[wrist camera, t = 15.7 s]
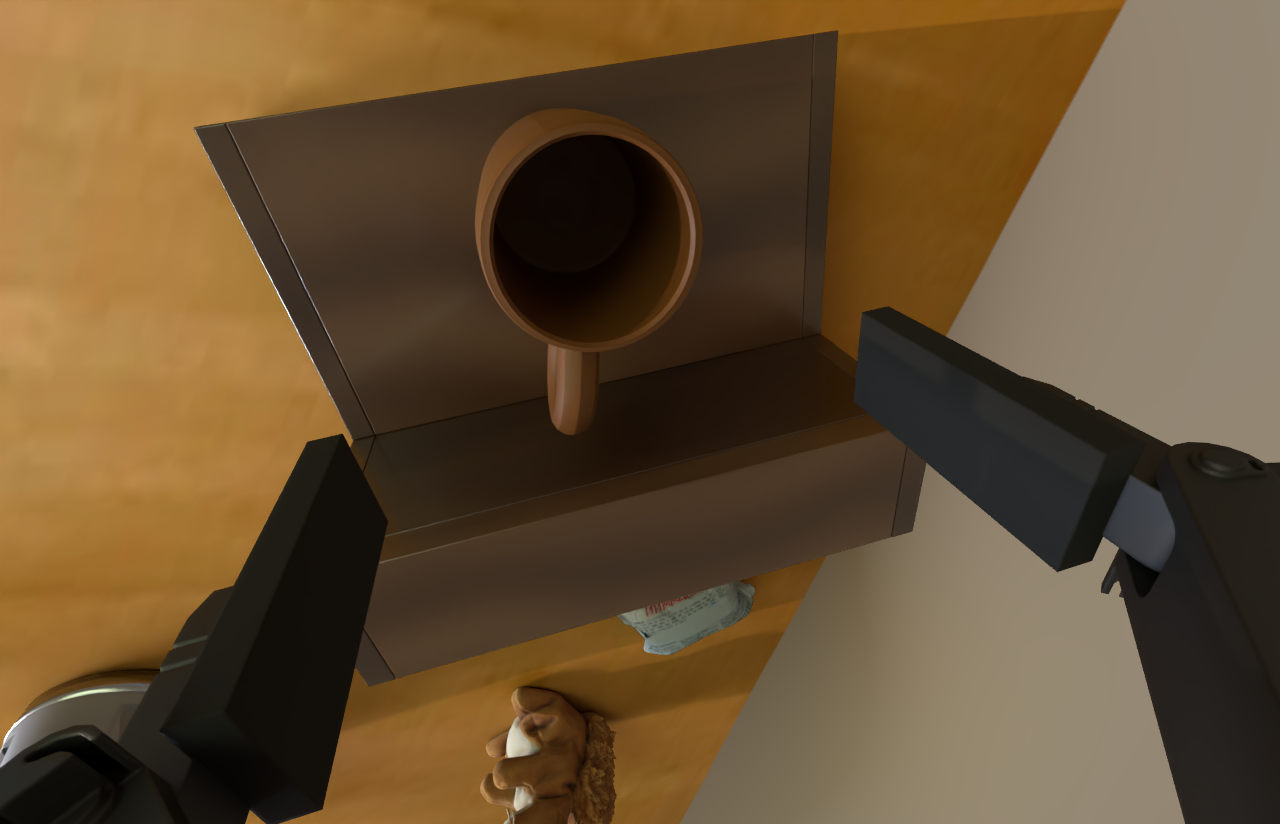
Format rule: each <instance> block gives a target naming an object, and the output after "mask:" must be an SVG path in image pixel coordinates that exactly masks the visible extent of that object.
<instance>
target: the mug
mask: <svg viewBox="0 0 1280 824" xmlns="http://www.w3.org/2000/svg"><path fill="white" fill-rule="evenodd" d="M475 234H476V244H477V249H478V254H479V258H480V261H481V266H482V270H483V273H484V275H485V278H486V281H487V284H488V286H489V288H490V290H491V292H492V294H493V296H494V298H495V299H496V301H497V302H498V303H499V305H500V306H501V308H502V309H503V310H504V312H505V313H506V314H507V315H508V316H509V317H510V318H511V319H512V320H513V321H514V322H515V323H516V324H517V325H518V326H519V327H521V328H522V329H523V330H524V331H526V332H527V333H529V334H530V335H532V336H533V337H535V338H537V339H539V340H541V341H543V342H545V343H548V362H547V383H548V401H549V410H550V415H551V420H552V423H553V424H554V425H555V427H556V428H557V429H558V430H559V431H561V432H562V433H564V434H568V435H577V434H581V433H582V432H584V431H586V430H587V429H588V427H589V426H590V425H591V423H592V422H593V420H594V416H595V412H596V406H597V399H598V389H599V361H600V351H607V350H613V349H617V348H620V347H624V346H627V345H629V344H632V343H634V342H637V341H639V340H640V339H642V338H644V337H646V336H648V335H649V334H651V333H652V332H653V331H655V330H656V329H658V328H659V327H660V326H661V325H662V324H664V323H665V322H666V321H667V320H668V319H669V318H670V317H671V316H672V315H673V313H674V312H675V311H676V310H677V309H678V308H679V306H680V305H681V303H682V302H683V300H684V299H685V297H686V295H687V294H688V292H689V290H690V288H691V286H692V284H693V281H694V279H695V276H696V274H697V271H698V267H699V263H700V259H701V253H702V246H703V225H702V216H701V211H700V207H699V203H698V199H697V196H696V194H695V191H694V189H693V186H692V184H691V182H690V180H689V179H688V177H687V175H686V173H685V171H684V170H683V169H682V167H681V166H680V165H679V163H678V162H677V160H676V159H675V158H674V157H673V156H672V155H671V154H670V153H669V152H668V151H667V150H666V149H665V148H664V147H663V146H661V145H660V144H659V143H657V142H656V141H655V140H654V139H652V138H651V137H649V136H648V135H647V134H646V133H644V132H643V131H641V130H640V129H638V128H636V127H634V126H633V125H631V124H629V123H627V122H624V121H622V120H619V119H617V118H614V117H611V116H607V115H603V114H599V113H594V112H590V111H586V110H578V109H572V108H550V109H545V110H541V111H537V112H535V113H532V114H529V115H527V116H525V117H523V118H522V119H520V120H518V121H516V122H515V123H514V124H513V125H511V126H510V127H509V128H508V129H507V130H506V131H505V132H504V133H503V134H502V135H501V136H500V137H499V138H498V140H497V141H496V143H495V144H494V145H493V147H492V149H491V151H490V153H489V155H488V157H487V159H486V161H485V164H484V167H483V170H482V175H481V180H480V185H479V190H478V195H477V203H476V212H475Z"/></svg>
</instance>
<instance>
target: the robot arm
mask: <svg viewBox="0 0 1280 824" xmlns="http://www.w3.org/2000/svg"><path fill="white" fill-rule="evenodd" d="M854 402H855V403H856V404H857V405H858V406H859V407H861V408H862V409H863V410H864V411H865V412H867V413H868V414H869V415H870V416H871V417H873V418H874V419H875V420H876V421H877V422H879V423H880V424H881V425H882V426H883V427H884V428H886V429H887V430H888V431H889V432H890V433H892V434H893V435H894V436H895V437H896V438H898V439H899V440H900V441H901V442H902V443H904V444H905V445H906V446H907V447H908V448H910V449H911V450H912V451H913V452H914V453H916V454H917V455H918V456H919V457H920V458H922V459H923V460H924V461H925V462H926V463H928V464H929V465H930V466H931V467H932V468H934V469H935V470H936V471H937V472H938V473H939V474H941V475H942V476H943V477H944V478H945V479H947V480H948V481H949V482H950V483H951V484H953V485H954V486H955V487H956V488H957V489H959V490H960V491H961V492H962V493H963V494H965V495H966V496H967V497H968V498H969V499H971V500H972V501H973V502H974V503H975V504H977V505H978V506H979V507H980V508H981V509H982V510H984V511H985V512H986V513H987V514H988V515H990V516H991V517H992V518H993V519H994V520H996V521H997V522H998V523H999V524H1000V525H1002V526H1003V527H1004V528H1005V529H1006V530H1008V531H1009V532H1010V533H1011V534H1012V535H1014V536H1015V537H1016V538H1017V539H1018V540H1019V541H1021V542H1022V543H1023V544H1024V545H1026V546H1027V547H1028V548H1029V549H1030V550H1031V551H1033V552H1034V553H1035V554H1036V555H1037V556H1039V557H1040V558H1041V559H1042V560H1043V561H1045V562H1046V563H1047V564H1048V565H1049V566H1051V567H1052V568H1053V569H1054V570H1056V571H1057V572H1059V571H1062V570H1065V569H1068V568H1071V567H1074V566H1077V565H1080V564H1083V563H1087V562H1090V561H1092V560H1093V558H1094V555H1095V553H1096V551H1097V549H1098V547H1099V544H1100V542H1101V540H1102V538H1103V537H1105V538H1106V539H1108V540H1109V541H1110V542H1112V543H1113V544H1115V545H1116V546H1117V547H1119V550H1118V552H1117V554H1116V556H1115V558H1114V560H1113V562H1112V564H1111V566H1110V568H1109V570H1108V572H1107V574H1106V576H1105V578H1104V580H1103V582H1102V587H1101V593H1105V594H1109V592H1110V590H1111V588H1112V586H1113V584H1114V583H1115V582H1117V581H1119V582H1120V586H1121V590H1122V591H1121V593H1120V595H1119V596H1120V597H1123V598H1124V601H1125V605H1126V608H1127V612H1128V616H1129V619H1130V623H1131V626H1132V630H1133V634H1134V638H1135V641H1136V645H1137V649H1138V652H1139V656H1140V659H1141V663H1142V667H1143V671H1144V674H1145V678H1146V681H1147V685H1148V689H1149V693H1150V696H1151V700H1152V703H1153V707H1154V711H1155V715H1156V718H1157V722H1158V726H1159V729H1160V733H1161V737H1162V740H1163V744H1164V747H1165V751H1166V755H1167V759H1168V762H1169V766H1170V770H1171V773H1172V777H1173V781H1174V784H1175V788H1176V792H1177V795H1178V799H1179V802H1180V806H1181V809H1182V814H1183V817H1184V820H1185V824H1280V463H1264V462H1262V461H1260V460H1259V459H1256V458H1255V457H1253V456H1251V455H1249V454H1247V453H1244V452H1241V451H1238V450H1235V449H1232V448H1229V447H1226V446H1220V445H1215V444H1210V443H1197V442H1186V443H1181V444H1176V445H1174V446H1170V445H1168V444H1166V443H1164V442H1162V441H1160V440H1158V439H1156V438H1154V437H1152V436H1150V435H1148V434H1146V433H1144V432H1142V431H1140V430H1138V429H1136V428H1135V427H1133V426H1130V425H1129V424H1127V423H1125V422H1123V421H1121V420H1119V419H1117V418H1115V417H1113V416H1111V415H1109V414H1107V413H1105V412H1103V411H1102V410H1095V408H1094V406H1091V405H1090V404H1088V403H1086V402H1084V401H1082V400H1076V399H1075V397H1074V396H1072V395H1070V394H1068V393H1067V392H1065V391H1063V390H1061V389H1059V388H1057V387H1055V386H1053V385H1050V384H1047V383H1044V382H1040V381H1036V380H1033V379H1030V378H1027V377H1021V376H1019V375H1017V374H1015V373H1014V372H1011V371H1010V370H1008V369H1006V368H1004V367H1002V366H1000V365H998V364H996V363H995V362H992V361H991V360H989V359H987V358H985V357H983V356H981V355H979V354H978V353H976V352H974V351H972V350H970V349H968V348H966V347H964V346H962V345H960V344H958V343H957V342H955V341H953V340H951V339H949V338H947V337H945V336H944V335H942V334H940V333H938V332H936V331H934V330H932V329H930V328H928V327H926V326H925V325H923V324H921V323H919V322H917V321H915V320H913V319H911V318H909V317H908V316H906V315H904V314H902V313H900V312H898V311H896V310H894V309H892V308H890V307H889V306H888V307H883V308H879V309H875V310H870V311H866V312H862V318H861V328H860V339H859V349H858V360H857V370H856V381H855V391H854ZM387 525H388V520H387V518H386V516H385V514H384V512H383V510H382V508H381V506H380V504H379V503H378V501H377V499H376V497H375V495H374V493H373V491H372V489H371V487H370V485H369V483H368V481H367V480H366V478H365V476H364V474H363V472H362V470H361V468H360V466H359V464H358V462H357V460H356V458H355V457H354V455H353V453H352V451H351V449H350V447H349V445H348V443H347V441H346V439H345V437H344V435H343V434H339V435H335V436H330V437H326V438H322V439H317V440H313V441H309V442H307V444H306V446H305V448H304V450H303V452H302V454H301V456H300V458H299V459H298V461H297V463H296V465H295V467H294V469H293V471H292V473H291V475H290V477H289V479H288V481H287V483H286V485H285V487H284V489H283V491H282V493H281V495H280V496H279V498H278V500H277V502H276V504H275V506H274V508H273V510H272V512H271V514H270V516H269V518H268V520H267V522H266V524H265V526H264V528H263V530H262V532H261V533H260V535H259V537H258V539H257V541H256V543H255V545H254V547H253V549H252V551H251V553H250V555H249V557H248V559H247V561H246V563H245V565H244V567H243V569H242V571H241V572H240V574H239V576H238V578H237V580H236V582H235V584H234V586H231V587H228V588H224V589H220V590H216V591H214V592H213V593H212V594H211V595H210V596H209V597H208V598H207V599H206V600H205V601H204V602H203V603H202V604H201V605H200V606H199V607H198V608H197V609H196V610H195V611H194V612H193V613H192V614H191V615H190V617H189V618H188V619H187V621H186V623H185V624H184V626H183V628H182V630H181V632H180V633H179V635H178V637H177V639H176V640H175V642H174V644H173V650H171V651H169V653H168V654H167V656H166V658H165V660H164V661H163V663H162V665H161V667H160V671H147V670H132V671H115V672H107V673H100V674H94V675H90V676H85V677H81V678H78V679H74V680H71V681H68V682H66V683H63V684H60V685H58V686H56V687H54V688H52V689H50V690H48V691H46V692H45V693H43V694H41V695H40V696H39V697H37V698H36V699H35V700H34V701H33V702H32V703H30V704H29V706H28V707H27V708H26V709H25V711H24V712H23V713H22V715H21V716H20V717H19V719H18V720H17V721H16V723H15V724H14V725H13V727H12V728H11V729H10V731H9V732H8V734H7V736H6V737H5V740H4V743H3V745H2V748H1V752H0V824H245V822H246V819H247V816H248V813H249V810H251V811H252V812H253V813H254V814H256V815H257V816H258V817H259V818H260V819H261V820H263V821H264V822H265V823H266V824H279V823H282V822H285V821H288V820H291V819H294V818H297V817H301V816H304V815H307V814H310V813H313V812H316V811H319V810H322V809H323V804H324V800H325V796H326V791H327V787H328V783H329V778H330V774H331V770H332V765H333V761H334V756H335V752H336V748H337V743H338V739H339V735H340V730H341V726H342V721H343V717H344V713H345V708H346V704H347V700H348V695H349V691H350V686H351V682H352V678H353V673H354V669H355V665H356V660H357V656H358V652H359V647H360V643H361V638H362V634H363V630H364V625H365V621H366V617H367V612H368V608H369V603H370V599H371V595H372V590H373V586H374V582H375V577H376V573H377V568H378V564H379V560H380V555H381V551H382V547H383V542H384V538H385V534H386V529H387Z"/></svg>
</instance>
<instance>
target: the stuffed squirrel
mask: <svg viewBox="0 0 1280 824" xmlns="http://www.w3.org/2000/svg"><path fill="white" fill-rule="evenodd" d="M511 700H512V705H513V708H514V710H515V712H516V714H517V718H516V719H515V720H514V722H513V725H512V727H511V729H509V730H507V731H505V732H503V733H502V734H500V735H499V736H497V737H495V738H494V739H492V740H490V741H489V742H488V743H487V746H486V750H487V753H488V755H489V756H491V757H503V756H505V759H503V760H501V761H500V762H498V763H497V765H496V766H495V768H494V770H493V773H490V774H488V775H487V776H486V777H485V778H484V779H483V780H482V783H481V787H480V789H481V793H482V795H483V796H484V797H485V799H486V800H487V801H488V802H489V803H492V804H497V805H503V806H506V807H510V808H512V809H515V810H517V811H516V812H515V811H512V815H511V816H510V814H509V809H507V810H506V811H507V813H508V819H507V820H506V821H505V823H504V824H611V822H612V817H613V816H612V815H614V810H613V809H614V808H615V806H614V802H615V799H616V793H615V789H614V786H613V783H614V781H613V778H614V776H615V775H614V770H613V769H615V768H614V767H615V765H614V761H613V759H616V757H615V756H614V752H613V750H612V749H611V748H613V742H614V736H615V734H616V732H615V733H614V731H611V730H610V727H609V726H608V725H607V724H606V721H605V720H604V719H603V718H604V717H600V716H599V715H597V713H593V712H585V713H582V714H579V713H578V712H577V711H576V710H575V709H574V708H573V707H572V706H571V705H570V704H569V703H567V702H566V700H564V699H563V697H562V696H560V695H559V694H557V693H555V692H552V691H547V690H542V689H536V688H527V687H520V688H517V690H515V691H514V692H513V694H512V698H511Z"/></svg>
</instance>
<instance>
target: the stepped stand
mask: <svg viewBox="0 0 1280 824" xmlns="http://www.w3.org/2000/svg"><path fill="white" fill-rule="evenodd" d="M837 41H838V31H830V32H823V33H817V34H810V35H803V36H797V37H790V38H783V39H777V40H770V41H763V42H757V43H750V44H744V45H737V46H730V47H724V48H717V49H710V50H704V51H697V52H690V53H684V54H677V55H670V56H664V57H657V58H650V59H644V60H637V61H630V62H624V63H617V64H610V65H604V66H597V67H590V68H584V69H577V70H570V71H564V72H557V73H551V74H544V75H537V76H531V77H524V78H517V79H511V80H504V81H497V82H491V83H484V84H477V85H471V86H464V87H457V88H451V89H444V90H437V91H431V92H424V93H417V94H411V95H404V96H397V97H391V98H384V99H377V100H371V101H364V102H357V103H351V104H344V105H338V106H331V107H324V108H318V109H311V110H304V111H298V112H291V113H284V114H278V115H271V116H264V117H258V118H251V119H244V120H238V121H231V122H225V123H218V124H211V125H204V126H198V127H194V131H195V133H196V135H197V136H198V138H199V140H200V142H201V144H202V146H203V148H204V150H205V152H206V154H207V156H208V158H209V160H210V162H211V164H212V166H213V168H214V170H215V172H216V174H217V176H218V178H219V179H220V181H221V183H222V185H223V187H224V189H225V191H226V193H227V195H228V197H229V199H230V201H231V203H232V205H233V207H234V209H235V211H236V213H237V215H238V217H239V219H240V220H241V222H242V224H243V226H244V228H245V230H246V232H247V234H248V236H249V238H250V240H251V242H252V244H253V246H254V248H255V250H256V252H257V254H258V256H259V258H260V260H261V262H262V263H263V265H264V267H265V269H266V271H267V273H268V275H269V277H270V279H271V281H272V283H273V285H274V287H275V289H276V291H277V293H278V295H279V297H280V299H281V301H282V303H283V304H284V306H285V308H286V310H287V312H288V314H289V316H290V318H291V320H292V322H293V324H294V326H295V328H296V330H297V332H298V334H299V336H300V338H301V340H302V342H303V344H304V346H305V347H306V349H307V351H308V353H309V355H310V357H311V359H312V361H313V363H314V365H315V367H316V369H317V371H318V373H319V375H320V377H321V379H322V381H323V383H324V385H325V387H326V388H327V390H328V392H329V394H330V396H331V398H332V400H333V402H334V404H335V406H336V408H337V410H338V412H339V414H340V416H341V418H342V420H343V422H344V424H345V426H346V428H347V430H348V431H349V433H350V435H351V437H352V439H353V442H352V445H351V447H350V449H351V451H352V453H353V455H354V457H355V458H356V460H357V462H358V464H359V466H360V468H361V470H362V472H363V474H364V476H365V478H366V480H367V481H368V483H369V485H370V487H371V489H372V491H373V493H374V495H375V497H376V499H377V501H378V503H379V504H380V506H381V508H382V510H383V512H384V514H385V516H386V518H387V520H388V525H387V529H386V534H385V538H384V542H383V547H382V551H381V555H380V560H379V564H378V568H377V573H376V577H375V582H374V586H373V590H372V595H371V599H370V603H369V608H368V612H367V617H366V621H365V625H364V630H363V634H362V638H361V643H360V647H359V652H358V656H357V660H356V665H355V668H356V669H357V670H358V672H359V673H360V675H361V676H362V678H363V679H364V680H365V682H366V683H367V685H368V686H374V685H377V684H381V683H384V682H388V681H391V680H394V679H395V678H400V677H404V676H407V675H411V674H414V673H418V672H421V671H425V670H428V669H432V668H435V667H439V666H442V665H446V664H449V663H453V662H456V661H460V660H463V659H467V658H470V657H474V656H477V655H481V654H484V653H488V652H491V651H495V650H498V649H502V648H505V647H509V646H512V645H516V644H519V643H523V642H526V641H530V640H533V639H537V638H540V637H544V636H547V635H551V634H554V633H558V632H561V631H565V630H568V629H572V628H575V627H579V626H582V625H586V624H589V623H593V622H596V621H600V620H603V619H607V618H610V617H614V616H617V615H621V614H624V613H628V612H631V611H635V610H638V609H642V608H645V607H649V606H652V605H656V604H659V603H663V602H666V601H670V600H673V599H677V598H680V597H684V596H687V595H691V594H694V593H698V592H701V591H705V590H708V589H711V588H715V587H718V586H722V585H725V584H729V583H732V582H736V581H739V580H743V579H746V578H750V577H753V576H757V575H760V574H764V573H767V572H771V571H774V570H778V569H781V568H785V567H788V566H792V565H795V564H799V563H802V562H806V561H809V560H813V559H816V558H820V557H823V556H827V555H830V554H834V553H837V552H841V551H844V550H848V549H851V548H855V547H858V546H862V545H865V544H869V543H872V542H876V541H879V540H882V539H886V538H890V537H895V536H898V535H902V534H905V533H908V532H912V531H913V526H914V521H915V516H916V511H917V506H918V501H919V496H920V491H921V486H922V481H923V476H924V472H925V467H926V462H925V461H924V460H923V459H922V458H920V457H919V456H918V455H917V454H916V453H914V452H913V451H912V450H911V449H910V448H908V447H907V446H906V445H905V444H904V443H902V442H901V441H900V440H899V439H898V438H896V437H895V436H894V435H893V434H892V433H890V432H889V431H888V430H887V429H886V428H884V427H883V426H882V425H881V424H880V423H879V422H877V421H876V420H875V419H874V418H873V417H871V416H870V415H869V414H868V413H867V412H865V411H864V410H863V409H862V408H861V407H859V406H858V405H857V404H856V403H855V402H854V391H855V381H856V370H857V361H856V360H855V359H853V358H852V357H851V356H849V355H848V354H847V353H845V352H844V351H842V350H841V349H840V348H838V347H837V346H836V345H834V344H833V343H832V342H830V341H829V340H828V339H826V338H825V337H824V336H822V335H821V334H820V333H821V317H822V299H823V282H824V265H825V248H826V231H827V213H828V196H829V179H830V162H831V145H832V127H833V110H834V93H835V76H836V59H837ZM550 108H572V109H578V110H586V111H590V112H594V113H599V114H603V115H607V116H611V117H614V118H617V119H619V120H622V121H624V122H627V123H629V124H631V125H633V126H634V127H636V128H638V129H640V130H641V131H643V132H644V133H646V134H647V135H648V136H649V137H651V138H652V139H654V140H655V141H656V142H657V143H659V144H660V145H661V146H663V147H664V148H665V149H666V150H667V151H668V152H669V153H670V154H671V155H672V156H673V157H674V158H675V159H676V160H677V162H678V163H679V165H680V166H681V167H682V169H683V170H684V171H685V173H686V175H687V177H688V179H689V180H690V182H691V184H692V186H693V189H694V191H695V194H696V196H697V199H698V203H699V207H700V211H701V216H702V225H703V246H702V253H701V259H700V263H699V267H698V271H697V274H696V276H695V279H694V281H693V284H692V286H691V288H690V290H689V292H688V294H687V295H686V297H685V299H684V300H683V302H682V303H681V305H680V306H679V308H678V309H677V310H676V311H675V312H674V313H673V315H672V316H671V317H670V318H669V319H668V320H667V321H666V322H665V323H664V324H662V325H661V326H660V327H659V328H658V329H656V330H655V331H653V332H652V333H651V334H649V335H648V336H646V337H644V338H642V339H640V340H639V341H637V342H634V343H632V344H629V345H627V346H624V347H620V348H617V349H613V350H607V351H600V361H599V389H598V399H597V406H596V412H595V416H594V420H593V422H592V423H591V425H590V426H589V427H588V429H587V430H586V431H584V432H582V433H581V434H577V435H568V434H564V433H562V432H561V431H559V430H558V429H557V428H556V427H555V425H554V424H553V423H552V420H551V415H550V410H549V401H548V383H547V362H548V343H545V342H543V341H541V340H539V339H537V338H535V337H533V336H532V335H530V334H529V333H527V332H526V331H524V330H523V329H522V328H521V327H519V326H518V325H517V324H516V323H515V322H514V321H513V320H512V319H511V318H510V317H509V316H508V315H507V314H506V313H505V312H504V310H503V309H502V308H501V306H500V305H499V303H498V302H497V301H496V299H495V298H494V296H493V294H492V292H491V290H490V288H489V286H488V284H487V281H486V278H485V275H484V273H483V270H482V266H481V261H480V258H479V254H478V249H477V244H476V234H475V212H476V203H477V195H478V190H479V185H480V180H481V175H482V170H483V167H484V164H485V161H486V159H487V157H488V155H489V153H490V151H491V149H492V147H493V145H494V144H495V143H496V141H497V140H498V138H499V137H500V136H501V135H502V134H503V133H504V132H505V131H506V130H507V129H508V128H509V127H510V126H511V125H513V124H514V123H515V122H516V121H518V120H520V119H522V118H523V117H525V116H527V115H529V114H532V113H535V112H537V111H541V110H545V109H550Z"/></svg>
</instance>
